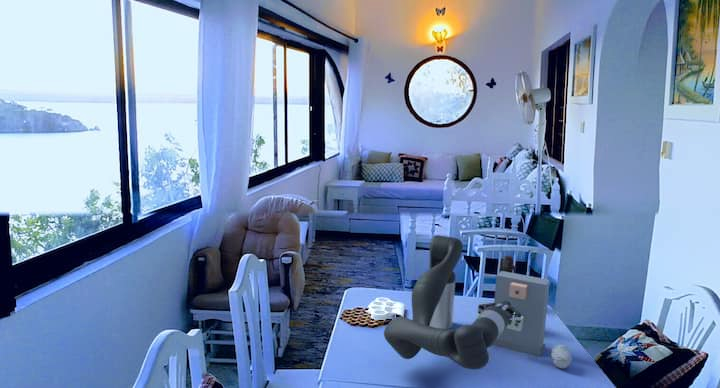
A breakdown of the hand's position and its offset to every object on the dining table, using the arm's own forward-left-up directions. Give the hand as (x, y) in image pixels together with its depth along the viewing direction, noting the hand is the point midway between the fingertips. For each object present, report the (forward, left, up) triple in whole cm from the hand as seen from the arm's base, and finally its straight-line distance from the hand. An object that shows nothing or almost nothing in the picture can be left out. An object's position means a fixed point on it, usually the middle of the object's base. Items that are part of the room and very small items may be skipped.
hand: (507, 304), depth 158 cm
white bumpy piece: (-34, +41, -22) cm, 57 cm away
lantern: (+15, +53, -21) cm, 59 cm away
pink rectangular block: (+7, +12, -2) cm, 14 cm away
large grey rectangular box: (+9, +16, -21) cm, 28 cm away
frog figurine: (+19, +2, -21) cm, 29 cm away
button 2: (+6, +10, -12) cm, 17 cm away
